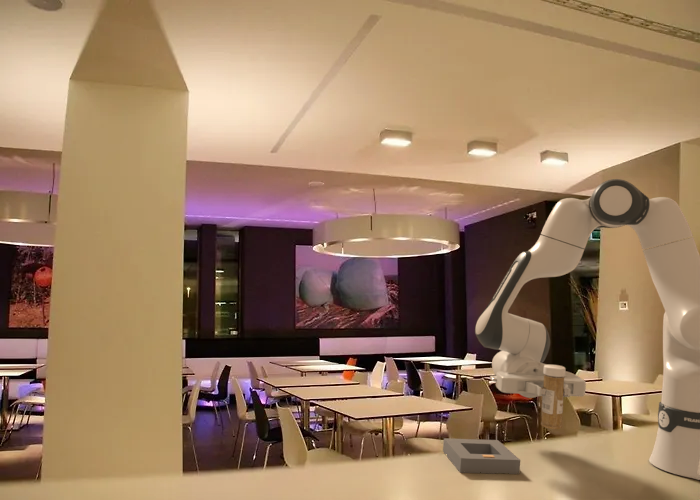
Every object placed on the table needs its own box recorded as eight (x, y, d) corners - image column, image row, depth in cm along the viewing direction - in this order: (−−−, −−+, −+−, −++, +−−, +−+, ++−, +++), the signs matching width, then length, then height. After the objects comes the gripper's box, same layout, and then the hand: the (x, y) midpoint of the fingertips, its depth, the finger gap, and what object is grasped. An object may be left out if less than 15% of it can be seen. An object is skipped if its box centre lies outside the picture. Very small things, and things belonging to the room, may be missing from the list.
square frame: (496, 452, 141) (497, 439, 141) (519, 474, 128) (520, 459, 128) (442, 451, 139) (443, 437, 139) (459, 472, 126) (461, 457, 126)
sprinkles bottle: (565, 430, 131) (569, 368, 130) (545, 429, 130) (549, 368, 130) (556, 423, 135) (559, 363, 135) (536, 423, 135) (540, 363, 134)
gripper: (488, 362, 144) (510, 375, 130) (569, 367, 147) (599, 380, 133) (486, 389, 144) (508, 405, 130) (567, 392, 147) (597, 408, 133)
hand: (555, 392), depth 132 cm, fingers closed on sprinkles bottle, 4 cm apart
